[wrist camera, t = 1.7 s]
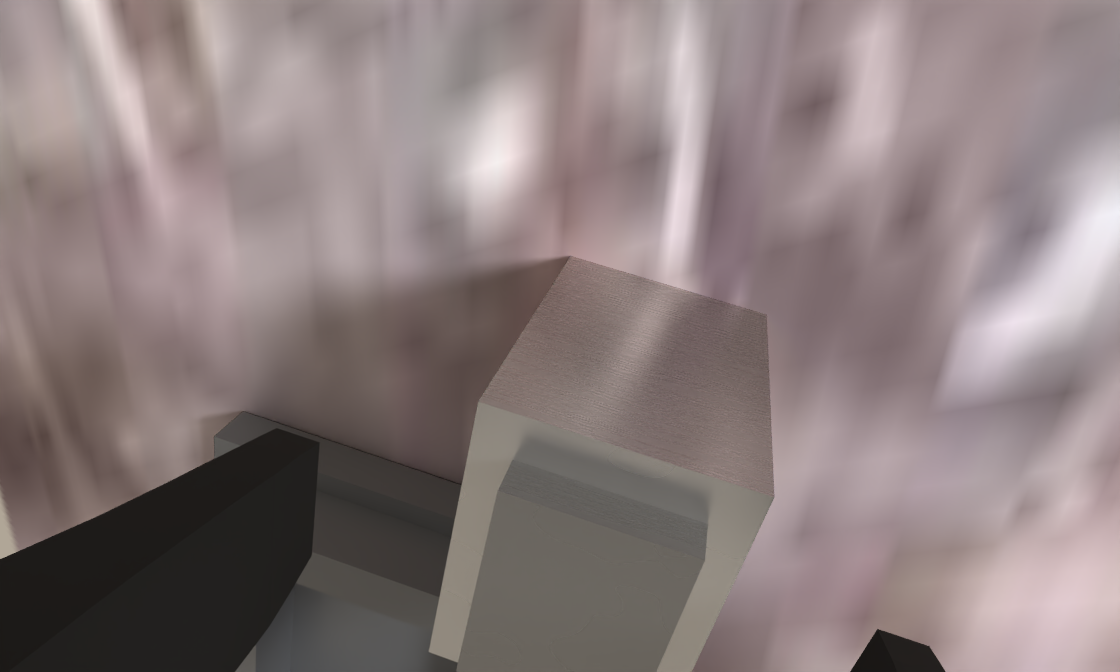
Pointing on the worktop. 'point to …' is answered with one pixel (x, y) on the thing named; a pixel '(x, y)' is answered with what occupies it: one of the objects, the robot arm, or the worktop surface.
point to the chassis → (360, 565)
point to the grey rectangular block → (609, 482)
